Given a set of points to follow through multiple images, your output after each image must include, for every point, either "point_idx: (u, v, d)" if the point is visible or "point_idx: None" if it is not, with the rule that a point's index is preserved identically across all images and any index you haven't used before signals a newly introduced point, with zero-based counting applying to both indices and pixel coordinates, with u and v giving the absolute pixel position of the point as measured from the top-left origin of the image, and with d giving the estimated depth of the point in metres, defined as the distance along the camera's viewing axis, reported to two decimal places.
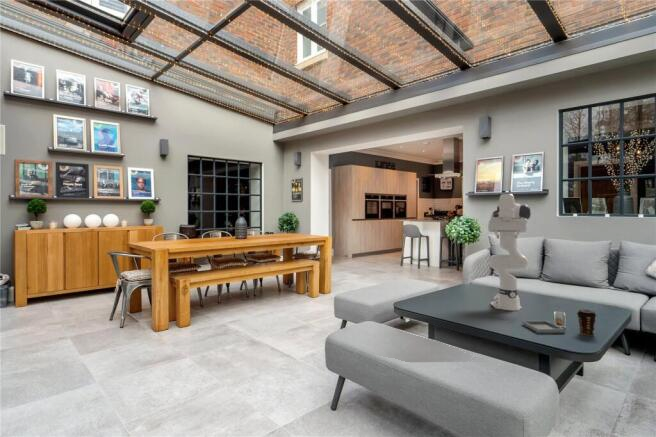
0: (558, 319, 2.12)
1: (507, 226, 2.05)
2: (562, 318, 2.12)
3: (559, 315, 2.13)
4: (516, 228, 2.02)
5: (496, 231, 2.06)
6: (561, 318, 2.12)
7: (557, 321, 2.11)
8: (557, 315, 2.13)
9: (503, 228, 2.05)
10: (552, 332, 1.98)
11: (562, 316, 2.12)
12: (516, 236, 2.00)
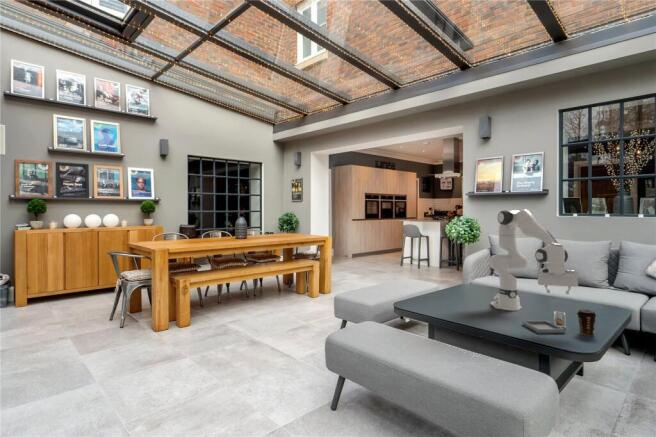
0: (558, 319, 2.12)
1: (557, 281, 2.06)
2: (562, 318, 2.12)
3: (559, 315, 2.13)
4: (567, 284, 2.03)
5: (546, 286, 2.09)
6: (561, 318, 2.12)
7: (557, 321, 2.11)
8: (557, 315, 2.13)
9: (554, 284, 2.07)
10: (552, 332, 1.98)
11: (562, 316, 2.12)
12: (568, 292, 2.04)
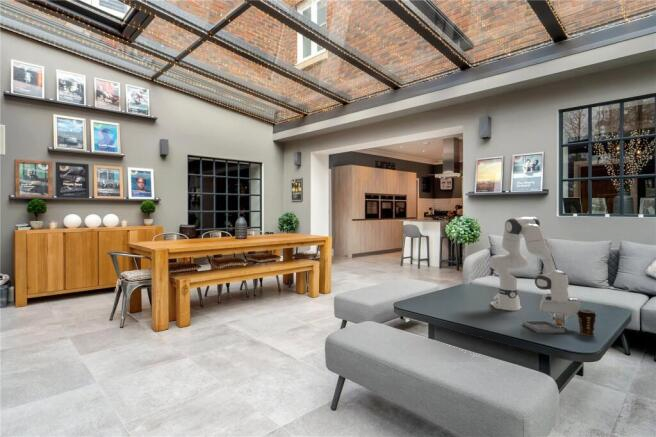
0: (558, 319, 2.12)
1: (560, 309, 2.09)
2: (562, 318, 2.12)
3: (559, 315, 2.13)
4: (570, 312, 2.07)
5: (551, 313, 2.12)
6: (561, 318, 2.12)
7: (557, 321, 2.11)
8: (557, 315, 2.13)
9: (556, 311, 2.10)
10: (552, 332, 1.98)
11: (562, 316, 2.12)
12: (567, 320, 2.08)
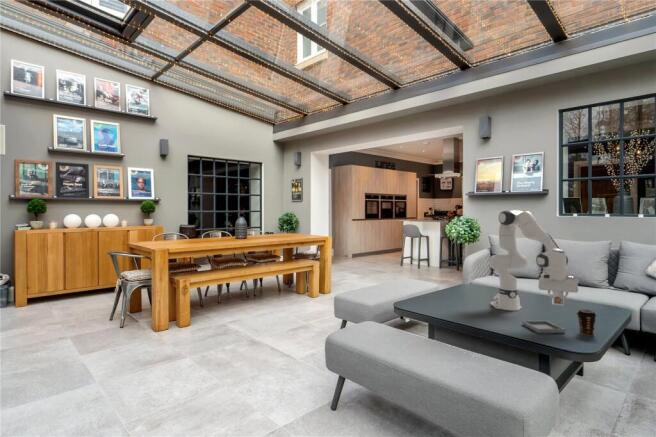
0: None
1: (558, 287, 2.09)
2: (560, 296, 2.12)
3: (557, 293, 2.12)
4: (568, 290, 2.06)
5: (549, 291, 2.11)
6: (559, 296, 2.12)
7: (556, 299, 2.11)
8: (555, 293, 2.13)
9: (554, 289, 2.10)
10: (552, 332, 1.98)
11: (560, 294, 2.12)
12: (565, 298, 2.08)
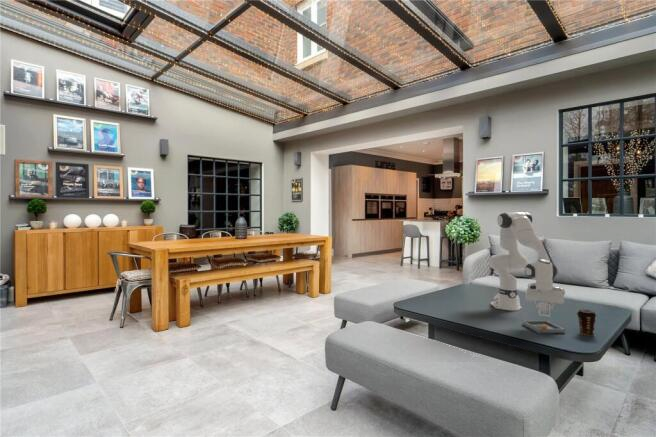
0: (542, 324, 2.04)
1: (544, 298, 2.09)
2: (547, 307, 2.12)
3: (544, 304, 2.12)
4: (554, 301, 2.06)
5: (536, 302, 2.11)
6: (546, 307, 2.12)
7: (541, 326, 2.03)
8: (542, 304, 2.13)
9: (541, 300, 2.10)
10: (552, 332, 1.98)
11: (547, 305, 2.12)
12: (551, 309, 2.08)
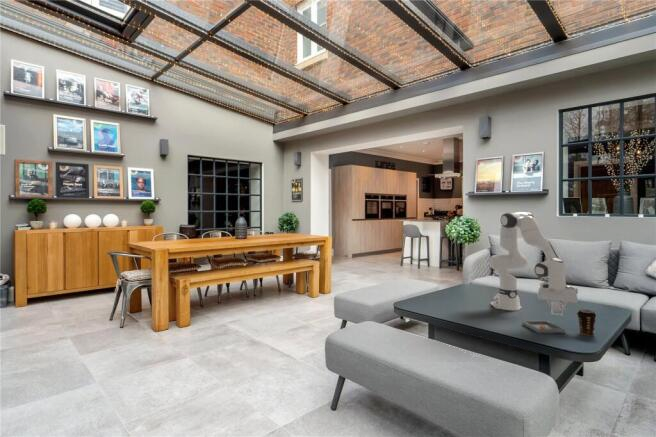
0: (541, 327, 2.01)
1: (557, 297, 2.09)
2: (559, 306, 2.12)
3: (556, 303, 2.12)
4: (567, 300, 2.06)
5: (548, 301, 2.12)
6: (558, 306, 2.12)
7: None
8: (554, 303, 2.13)
9: (553, 299, 2.10)
10: (552, 332, 1.98)
11: (559, 304, 2.12)
12: (564, 307, 2.08)
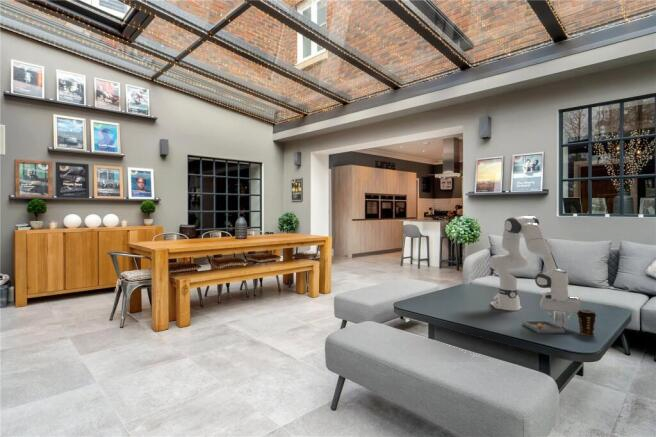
0: (537, 324, 2.05)
1: (560, 307, 2.09)
2: (562, 318, 2.12)
3: (559, 315, 2.13)
4: (569, 311, 2.07)
5: (549, 311, 2.12)
6: (561, 318, 2.12)
7: (539, 325, 2.03)
8: (557, 315, 2.13)
9: (556, 310, 2.10)
10: (552, 332, 1.98)
11: (562, 316, 2.12)
12: (569, 318, 2.07)
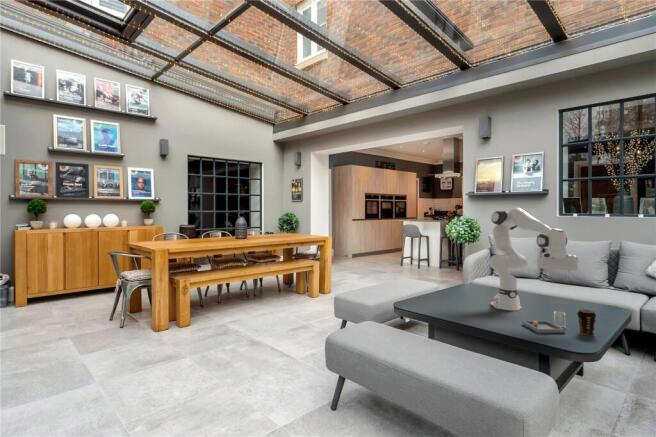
0: None
1: (558, 265, 2.15)
2: (562, 318, 2.12)
3: (559, 315, 2.13)
4: (567, 268, 2.13)
5: (547, 270, 2.18)
6: (561, 318, 2.12)
7: None
8: (557, 315, 2.13)
9: (554, 268, 2.16)
10: (552, 332, 1.98)
11: (562, 316, 2.12)
12: (567, 276, 2.13)
